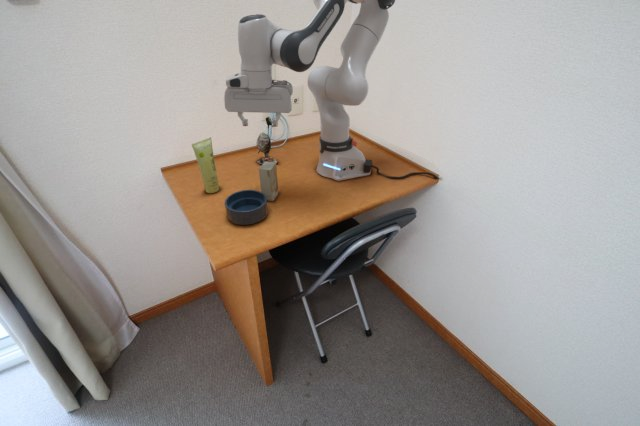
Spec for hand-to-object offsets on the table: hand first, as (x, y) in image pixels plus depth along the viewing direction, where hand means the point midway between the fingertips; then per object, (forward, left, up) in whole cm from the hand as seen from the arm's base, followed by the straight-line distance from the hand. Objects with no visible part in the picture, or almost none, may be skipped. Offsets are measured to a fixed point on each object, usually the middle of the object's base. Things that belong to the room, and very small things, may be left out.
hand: (260, 125), depth 100 cm
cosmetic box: (-1, +2, -26) cm, 26 cm away
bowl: (+7, +12, -25) cm, 29 cm away
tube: (+20, -6, -26) cm, 33 cm away
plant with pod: (-1, -27, -26) cm, 37 cm away
